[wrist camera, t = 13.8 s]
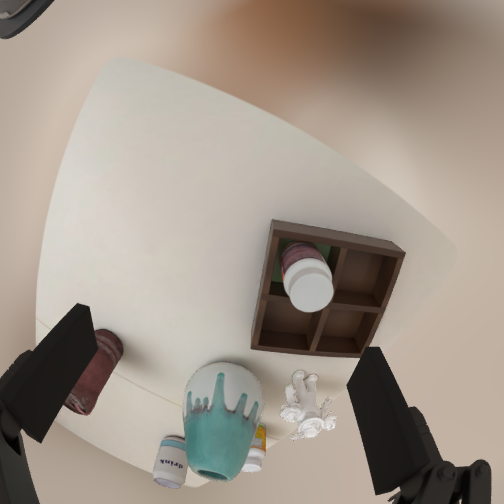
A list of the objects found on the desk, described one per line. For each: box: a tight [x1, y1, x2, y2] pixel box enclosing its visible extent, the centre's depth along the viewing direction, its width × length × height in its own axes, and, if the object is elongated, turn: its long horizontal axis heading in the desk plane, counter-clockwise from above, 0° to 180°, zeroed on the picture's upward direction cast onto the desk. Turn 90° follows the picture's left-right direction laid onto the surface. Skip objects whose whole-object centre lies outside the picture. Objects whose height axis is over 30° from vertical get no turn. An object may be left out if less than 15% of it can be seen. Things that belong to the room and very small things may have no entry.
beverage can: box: [152, 436, 188, 489], centre depth 43 cm, size 7×7×12 cm
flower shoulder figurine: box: [280, 371, 337, 440], centre depth 34 cm, size 9×4×12 cm, turn 63°
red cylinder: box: [63, 329, 123, 415], centre depth 32 cm, size 6×6×14 cm
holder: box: [250, 219, 406, 358], centre depth 32 cm, size 15×15×4 cm
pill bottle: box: [280, 240, 334, 312], centre depth 28 cm, size 5×5×8 cm
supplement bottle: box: [241, 423, 266, 472], centre depth 40 cm, size 5×5×10 cm
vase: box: [183, 362, 264, 482], centre depth 31 cm, size 12×12×18 cm
